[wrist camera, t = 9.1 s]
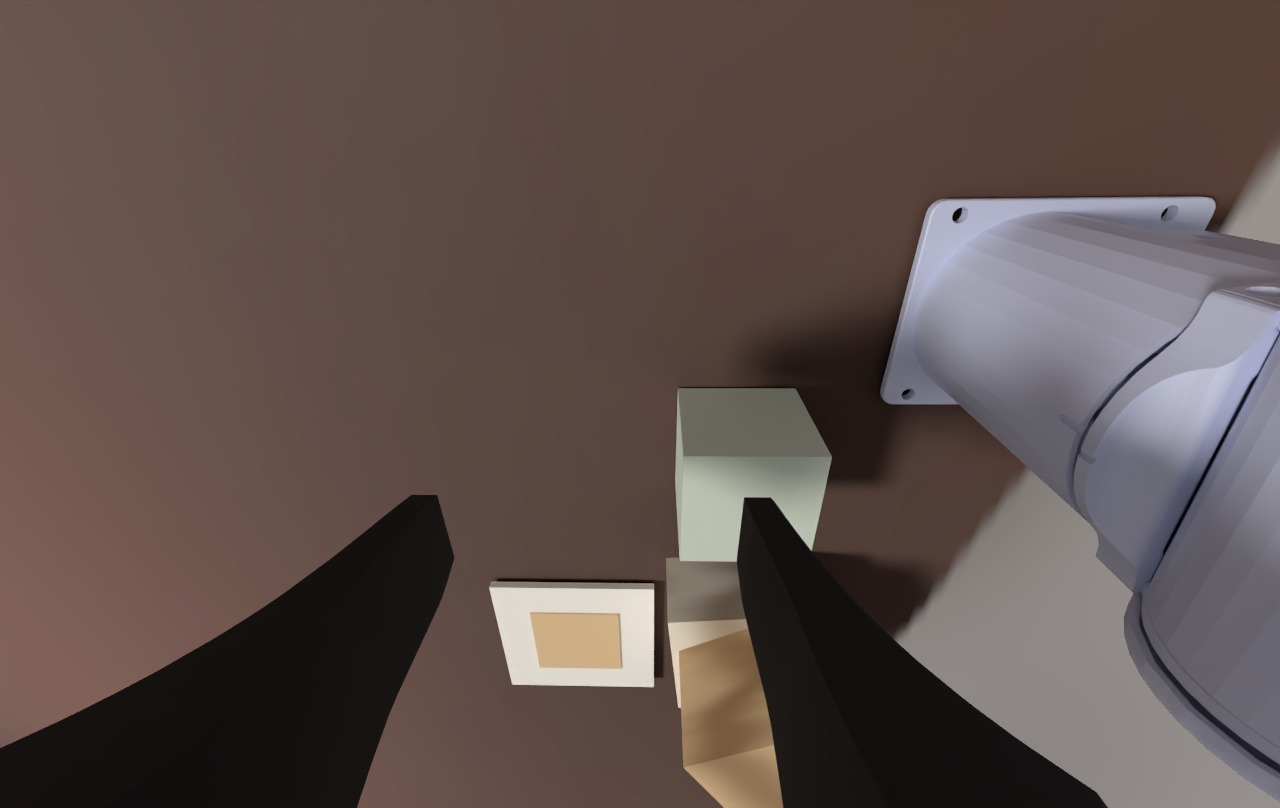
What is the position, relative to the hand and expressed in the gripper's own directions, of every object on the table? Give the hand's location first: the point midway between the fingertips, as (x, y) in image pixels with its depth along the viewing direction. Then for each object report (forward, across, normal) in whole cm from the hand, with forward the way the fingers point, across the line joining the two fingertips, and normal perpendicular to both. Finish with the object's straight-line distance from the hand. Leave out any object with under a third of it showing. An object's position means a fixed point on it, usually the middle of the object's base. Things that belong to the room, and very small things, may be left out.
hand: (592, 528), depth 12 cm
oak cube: (+6, -6, +15) cm, 17 cm away
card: (+10, +3, +18) cm, 21 cm away
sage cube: (+10, -5, +4) cm, 12 cm away
